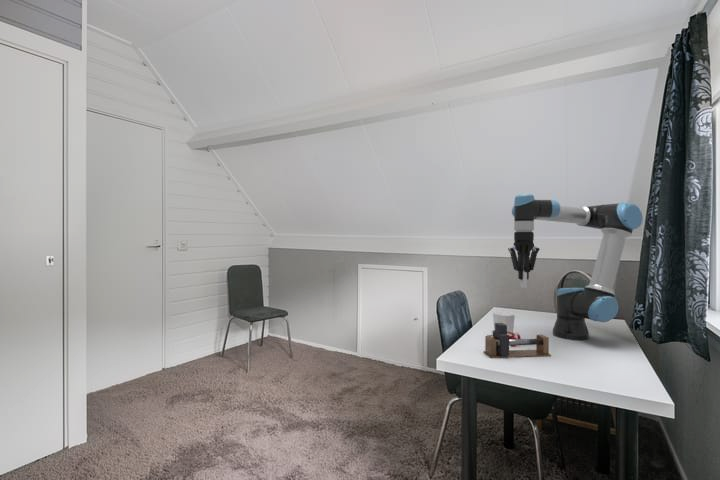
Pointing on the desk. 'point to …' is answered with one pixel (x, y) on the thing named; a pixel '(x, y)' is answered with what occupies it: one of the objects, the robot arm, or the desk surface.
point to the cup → (504, 319)
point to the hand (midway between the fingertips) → (523, 287)
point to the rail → (540, 351)
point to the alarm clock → (511, 336)
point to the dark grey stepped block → (501, 339)
